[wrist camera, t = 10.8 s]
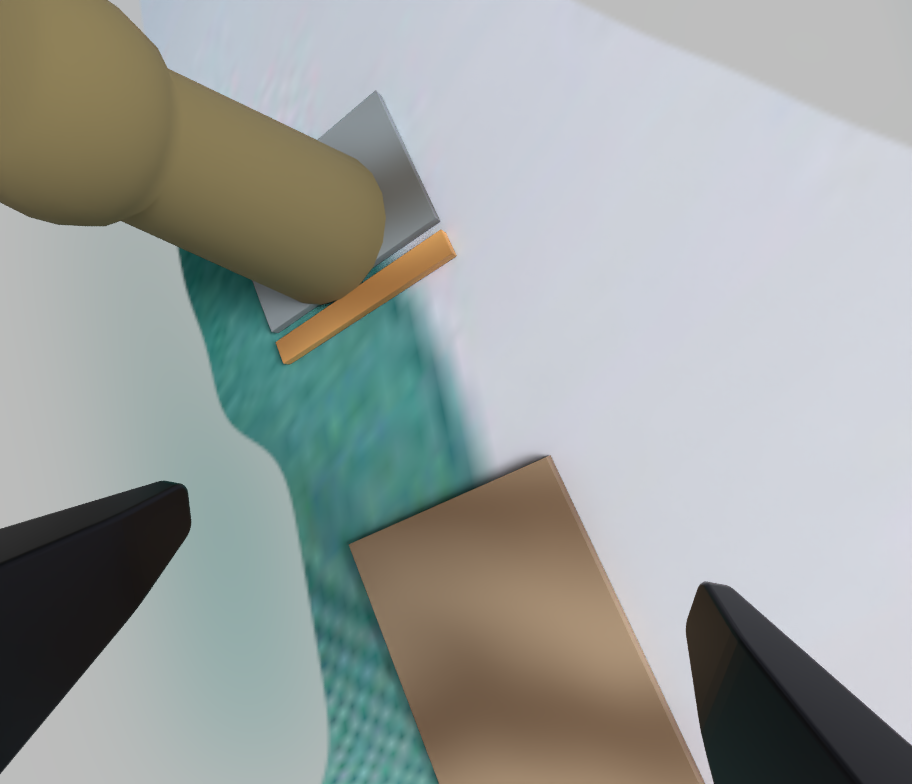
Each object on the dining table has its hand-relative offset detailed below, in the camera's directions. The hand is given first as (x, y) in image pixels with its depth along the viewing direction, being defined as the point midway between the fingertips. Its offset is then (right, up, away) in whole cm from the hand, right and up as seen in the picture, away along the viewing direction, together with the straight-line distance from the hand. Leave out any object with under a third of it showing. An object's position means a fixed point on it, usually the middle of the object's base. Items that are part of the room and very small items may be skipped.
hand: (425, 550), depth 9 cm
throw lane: (0, -1, +10) cm, 10 cm away
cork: (-5, +9, +12) cm, 16 cm away
